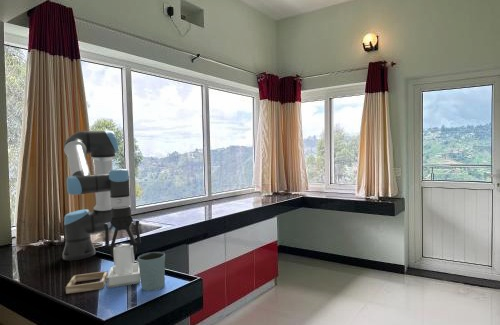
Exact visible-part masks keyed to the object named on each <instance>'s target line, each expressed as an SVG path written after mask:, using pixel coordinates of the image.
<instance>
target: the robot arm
mask: <svg viewBox="0 0 500 325" xmlns="http://www.w3.org/2000/svg"><path fill="white" fill-rule="evenodd" d="M63 151H64V154H65V156H67V160H68V161H67V162H68V168H69V173H70V174H69V175H70V176H68V177H66V191H67V194H68V195H69V196H70V195H72V196H73V195H78V196H79V195H85V194H95V199H96V200H95V201H96V202H95V203H96V204H95V206H94V207H93V211H90V210H89V208H88V209H87V208H86V209H79V210H75V211H71V212H69V213H66V214H65V215H64V218H63V221H64V222H63V226H64V237H65V243H64V248H63V251H62V260H64V261H78V260H83V259H87V258H91V257H92V256H95V255H96V248H95V246H94V243H93V241H92V239H91V235H92V234H98V233H99V234H100V233H101V234H102V233H105V236H104V240H105V241H104V248H105V249H109V250H110V257H111V258H113V266H116V256H115V248H116V246H115V245H116V240H117V236H118V233H119V231H122V230H123V231H126V232H127V234H128V238H129V240H130V242H131V245H130V246H131V253H132V263H135V255H136V254H137V250H138V249H137V247H138V245H140V244H141V242H142V241H141V235H140V234H141V233H140V227H139V226H140V225H139V224H140V220H139V219H133V217H132V207H131V192H130V191H131V190H130V175H129V170H128V169H126V168H118V169H115V168H113V159H114V158H115V157H116V154H117V153H118V152H119V144H118V139H117V136H116V134H115V132H114V131H113V130H81V131H77V132H75V133H73V134H71V135H69V136H68V137H67V139H66V140H65V142H64V144H63ZM86 155H90V158H91V159H92V160H93V161H94V162H93V163H94V174H91V171H90V167H89V163H88V160H87V156H86ZM132 223H133V226H135V227H134V229H135V235H136V239H135V237H134V235H133V232H132V230H131V225H132ZM113 231H114V232H113ZM110 232H113V236H112V239H111V244H110Z"/></svg>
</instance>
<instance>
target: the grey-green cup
mask: <svg viewBox="0 0 500 325" xmlns="http://www.w3.org/2000/svg"><path fill="white" fill-rule="evenodd" d="M165 262H166V253H165V252H161V251H151V252H146V253H142V254H140V255H139V256H137V263H138V264H139V269H140V270H139V271H140V278H141V281H140V284H141V289H142V291H146V292H153V291H155V292H156V291H158V290H160V289H163V288H164V287H165V284H166V283H165V282H166V281H165V280H166V277H165V276H166V275H165V274H166V272H165V270H166V266H165V264H166V263H165Z"/></svg>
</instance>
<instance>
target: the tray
mask: <svg viewBox="0 0 500 325" xmlns="http://www.w3.org/2000/svg"><path fill="white" fill-rule="evenodd" d="M139 270H140V269H139V264H138V262H134V263H133V272H132V274H127V275H120V276H118V275H117V274H116V265H113V266H110V269H109V271H108V276H107V281H106V284H107V289H110V288H111V289H112V288H119V286H120V287H125V285H126V286H131V285H132V284H133V285H137V284H138V285H139V283H140V284H141V281H140V280H141V278H140V271H139Z"/></svg>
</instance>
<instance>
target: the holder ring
mask: <svg viewBox="0 0 500 325" xmlns="http://www.w3.org/2000/svg"><path fill="white" fill-rule="evenodd" d="M108 274H109V271H108V270H104V271H96V272H89V273H82V274H80V273H79V274H75V275H73V276H72V277H71V279H70V280H69V282H68V283H67V284H66V286H65V294H66V295H68V294H74V293H82V292H88V291H89V292H90V291H96V290H102V289H104V288H105V285H106V284H107V276H108ZM93 280H100V281H96V282H95V281H94V282H88V283H81V284H77V283H78V282H85V281H93Z"/></svg>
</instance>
